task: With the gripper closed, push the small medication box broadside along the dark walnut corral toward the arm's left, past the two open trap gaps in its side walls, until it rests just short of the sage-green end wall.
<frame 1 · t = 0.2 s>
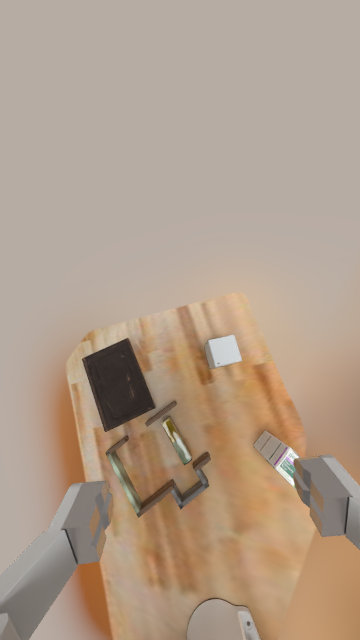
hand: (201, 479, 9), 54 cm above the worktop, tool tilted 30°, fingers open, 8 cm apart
syrup box: (266, 444, 56), on the worktop
trap corral: (159, 450, 56), on the worktop
supplement box: (217, 355, 63), on the worktop
hardcover book: (119, 382, 62), on the worktop
medication box: (176, 436, 57), on the worktop
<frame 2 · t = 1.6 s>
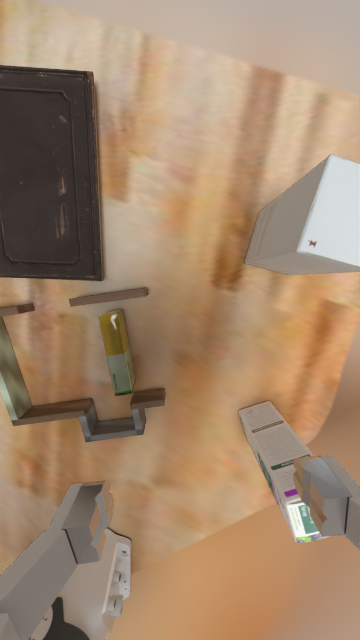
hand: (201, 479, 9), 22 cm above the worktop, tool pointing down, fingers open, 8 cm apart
syrup box: (257, 417, 34), on the worktop
trap corral: (86, 352, 30), on the worktop
supplement box: (274, 244, 28), on the worktop
hardcover book: (44, 191, 26), on the worktop
medication box: (122, 346, 31), on the worktop
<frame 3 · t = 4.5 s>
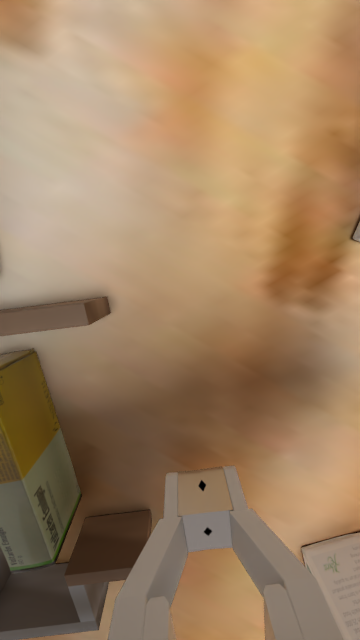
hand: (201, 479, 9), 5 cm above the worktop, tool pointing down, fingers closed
syrup box: (336, 556, 17), on the worktop
medication box: (48, 427, 14), on the worktop
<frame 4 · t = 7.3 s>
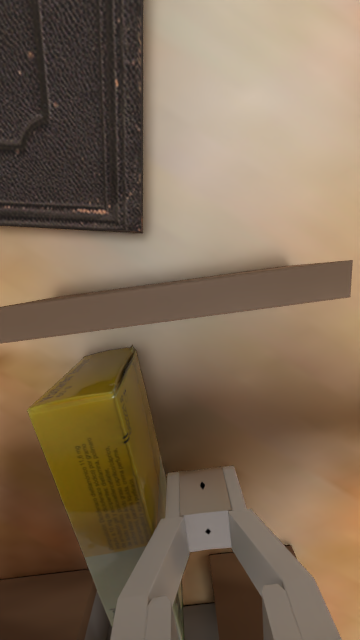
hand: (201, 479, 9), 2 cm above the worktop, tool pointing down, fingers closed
trap corral: (80, 461, 10), on the worktop
medication box: (140, 449, 11), on the worktop, touching gripper
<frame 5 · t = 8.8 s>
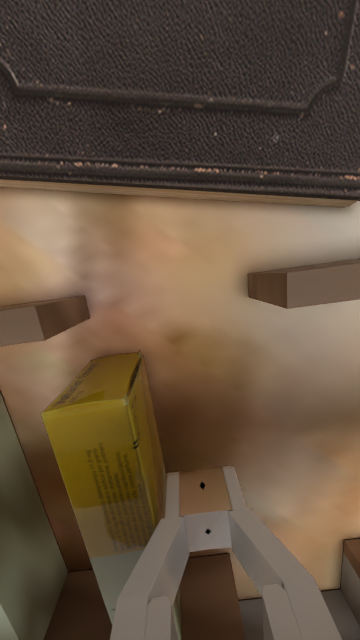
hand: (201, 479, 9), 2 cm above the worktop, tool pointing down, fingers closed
trap corral: (237, 443, 10), on the worktop
medication box: (142, 452, 11), on the worktop, touching gripper
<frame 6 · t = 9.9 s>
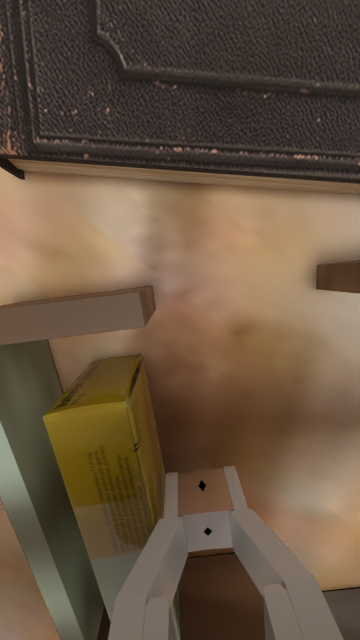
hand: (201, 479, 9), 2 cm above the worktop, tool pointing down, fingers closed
trap corral: (292, 437, 10), on the worktop
medication box: (142, 453, 11), on the worktop
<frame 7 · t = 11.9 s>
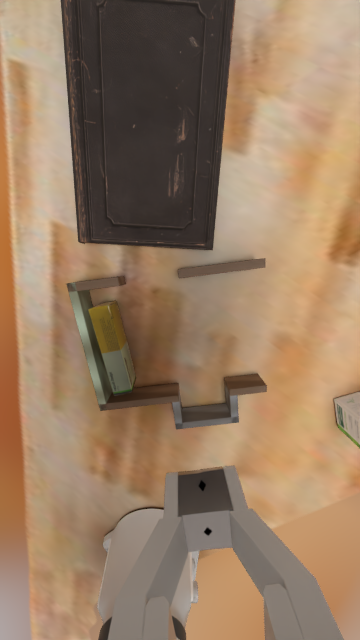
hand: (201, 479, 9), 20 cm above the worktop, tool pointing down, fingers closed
syrup box: (351, 406, 31), on the worktop
trap corral: (178, 332, 27), on the worktop
hardcover book: (149, 141, 22), on the worktop
medication box: (119, 341, 28), on the worktop
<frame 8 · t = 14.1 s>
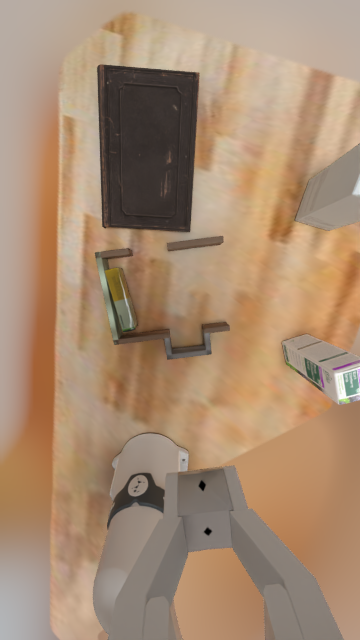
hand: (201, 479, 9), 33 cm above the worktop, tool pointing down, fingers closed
syrup box: (295, 348, 43), on the worktop
trap corral: (168, 290, 40), on the worktop
supplement box: (318, 206, 37), on the worktop
hardcover book: (148, 162, 35), on the worktop
medication box: (125, 298, 40), on the worktop
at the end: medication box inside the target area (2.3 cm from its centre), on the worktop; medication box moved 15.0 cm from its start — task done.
